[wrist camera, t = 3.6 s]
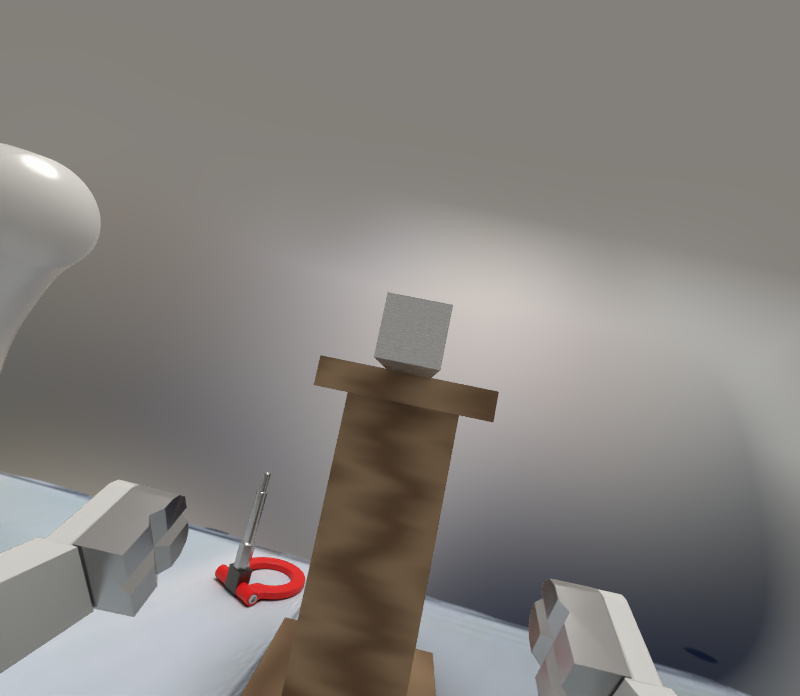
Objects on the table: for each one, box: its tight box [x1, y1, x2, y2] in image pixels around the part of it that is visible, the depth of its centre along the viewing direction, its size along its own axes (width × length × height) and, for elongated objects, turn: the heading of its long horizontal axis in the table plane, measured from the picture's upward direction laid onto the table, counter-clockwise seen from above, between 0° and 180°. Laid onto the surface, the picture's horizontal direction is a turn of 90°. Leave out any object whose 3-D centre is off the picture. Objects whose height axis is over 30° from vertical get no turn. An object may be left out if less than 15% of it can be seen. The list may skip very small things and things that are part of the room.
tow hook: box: [215, 472, 305, 606], centre depth 46 cm, size 8×13×9 cm
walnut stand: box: [241, 356, 499, 696], centre depth 30 cm, size 14×14×26 cm
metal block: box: [374, 293, 453, 378], centre depth 28 cm, size 3×22×3 cm, turn 178°
